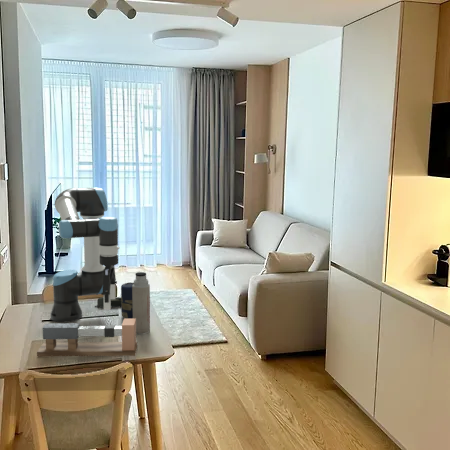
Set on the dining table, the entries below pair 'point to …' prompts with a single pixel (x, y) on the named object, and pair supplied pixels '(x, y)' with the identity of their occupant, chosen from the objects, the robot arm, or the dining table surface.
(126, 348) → the terracotta socket block
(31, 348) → the dining table surface
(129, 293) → the canister
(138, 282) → the thermos bottle
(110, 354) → the walnut base board
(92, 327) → the telescoping tube
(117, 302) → the dark green bar
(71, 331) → the charcoal sleeve
